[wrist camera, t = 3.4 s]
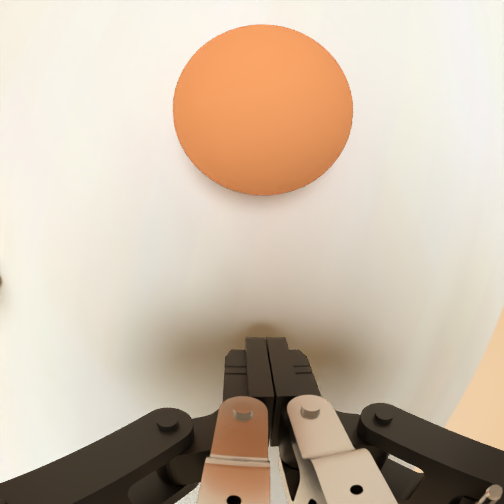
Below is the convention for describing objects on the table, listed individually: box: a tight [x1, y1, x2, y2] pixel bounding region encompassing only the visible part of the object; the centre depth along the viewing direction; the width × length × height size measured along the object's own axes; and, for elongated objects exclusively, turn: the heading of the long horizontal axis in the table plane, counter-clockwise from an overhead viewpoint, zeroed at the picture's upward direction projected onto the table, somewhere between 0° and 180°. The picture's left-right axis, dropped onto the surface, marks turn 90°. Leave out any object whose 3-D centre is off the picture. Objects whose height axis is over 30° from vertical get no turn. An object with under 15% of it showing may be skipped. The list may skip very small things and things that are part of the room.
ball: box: [173, 25, 353, 195], centre depth 9 cm, size 6×6×6 cm
